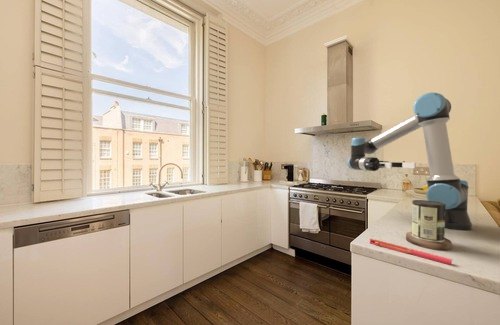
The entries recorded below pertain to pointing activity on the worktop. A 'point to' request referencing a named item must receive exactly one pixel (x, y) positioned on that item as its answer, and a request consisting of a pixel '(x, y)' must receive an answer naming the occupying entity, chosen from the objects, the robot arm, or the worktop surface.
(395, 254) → the worktop surface
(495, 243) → the worktop surface
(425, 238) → the coffee can
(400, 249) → the chopstick
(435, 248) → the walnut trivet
